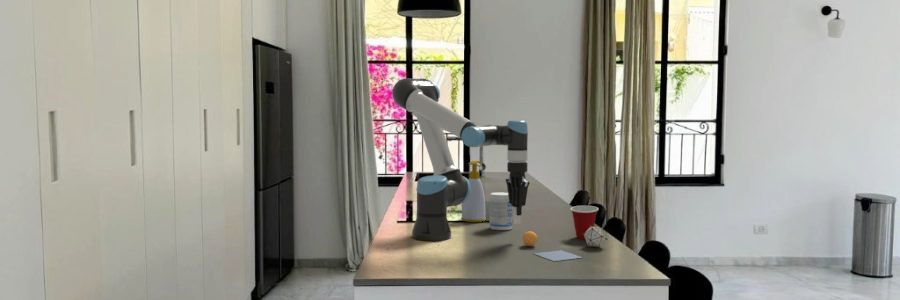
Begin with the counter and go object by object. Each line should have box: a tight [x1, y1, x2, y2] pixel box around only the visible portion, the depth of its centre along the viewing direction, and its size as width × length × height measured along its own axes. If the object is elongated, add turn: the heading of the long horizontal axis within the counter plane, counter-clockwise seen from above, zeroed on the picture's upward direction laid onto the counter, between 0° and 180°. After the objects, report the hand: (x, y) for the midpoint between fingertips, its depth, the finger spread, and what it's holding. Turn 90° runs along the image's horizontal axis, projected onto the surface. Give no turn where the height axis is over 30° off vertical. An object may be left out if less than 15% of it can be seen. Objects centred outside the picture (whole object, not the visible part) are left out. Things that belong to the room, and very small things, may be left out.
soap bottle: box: [460, 160, 487, 223], centre depth 299 cm, size 11×12×26 cm
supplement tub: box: [489, 191, 513, 231], centre depth 281 cm, size 10×10×15 cm
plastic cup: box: [570, 205, 599, 240], centre depth 265 cm, size 11×11×12 cm
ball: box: [522, 230, 538, 247], centre depth 249 cm, size 6×6×6 cm
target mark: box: [532, 250, 583, 262], centre depth 234 cm, size 12×12×1 cm
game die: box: [582, 225, 609, 249], centre depth 249 cm, size 9×8×10 cm
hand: (517, 223), depth 257 cm, fingers closed
